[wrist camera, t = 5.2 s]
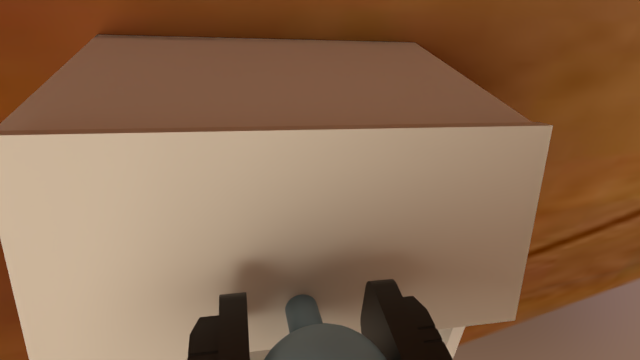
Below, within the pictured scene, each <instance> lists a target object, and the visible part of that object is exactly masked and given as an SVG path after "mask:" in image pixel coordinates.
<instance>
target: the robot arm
mask: <svg viewBox="0 0 640 360" xmlns="http://www.w3.org/2000/svg"><path fill="white" fill-rule="evenodd" d="M360 325H361V333H362V335H364V336H365V337H366V338H368V339H369V340H370V341H371V342H372V343H374V344H375V345H376V346H377V348H378V349H379V350H380V351H381V352H382V354H383V355H384V356H385V358H386V359H387V360H453V359H452V357H451V355H450V353H449V351H448V349H447V347H446V345H445V343H444V342H443V341H442V337H441V335H440V333H439V331H438V330H437V329H436V328H435V324H434V322H433V320H432V318H431V316H430V314H429V312H428V310H427V309H426V308H425V307H424V306H423V305H422V304H421V303H420V302H419V301H418V300H417V299H416V298H415V297H414V296H407V297H403V296H402V294H401V292H400V290H399V288H398V285H397V283H396V282H395V280H394V279H386V280H375V281H368V282H367V283H366V287H365V293H364V299H363V305H362V311H361V317H360ZM187 360H250V352H249V332H248V313H247V294H246V292H242V293H231V294H221V295H219V315H217V316H207V317H199V319H198V321H197V323H196V324H195V326H194V328H193V330H192V331H191V333H190V336H189V347H188V358H187Z"/></svg>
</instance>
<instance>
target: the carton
mask: <svg viewBox="0 0 640 360" xmlns="http://www.w3.org/2000/svg"><path fill="white" fill-rule="evenodd" d="M511 122H531V121H530V120H528V119H527V118H525V117H524V116H522V115H521V114H519V113H518V112H516V111H515V110H514V109H512V108H511V107H509V106H508V105H506V104H505V103H503V102H502V101H500V100H499V99H497V98H496V97H494V96H493V95H491V94H490V93H489V92H487V91H486V90H484V89H483V88H481V87H480V86H478V85H477V84H475V83H474V82H472V81H471V80H469V79H468V78H467V77H465V76H464V75H462V74H461V73H459V72H458V71H456V70H455V69H453V68H452V67H450V66H449V65H447V64H446V63H444V62H443V61H442V60H440V59H439V58H437V57H436V56H434V55H433V54H431V53H430V52H428V51H427V50H425V49H424V48H422V47H421V46H419V45H418V44H417V43H415V42H382V41H341V40H300V39H259V38H218V37H177V36H136V35H96V36H95V37H94V38H93V39H92V40H91V41H90V42H89V43H87V44H86V45H85V46H84V47H83V48H82V49H81V50H80V51H79V52H78V53H77V54H76V55H74V56H73V57H72V58H71V59H70V60H69V61H68V62H67V63H66V64H65V65H64V66H63V67H61V68H60V69H59V70H58V71H57V72H56V73H55V74H54V75H53V76H52V77H51V78H49V79H48V80H47V81H46V82H45V83H44V84H43V85H42V86H41V87H40V88H39V89H38V90H36V91H35V92H34V93H33V94H32V95H31V96H30V97H29V98H28V99H27V100H26V101H25V102H23V103H22V104H21V105H20V106H19V107H18V108H17V109H16V110H15V111H14V112H13V113H11V114H10V115H9V116H8V117H7V118H6V119H5V120H4V121H3V122H2V123H1V124H0V131H8V130H71V129H134V128H197V127H260V126H322V125H385V124H448V123H511ZM464 328H465V326H464V327H456V328H447V329H439V330H438V331H439V333H440V335H441V337H442V341H443V342H444V343H445V345H446V347H447V349H448V351H449V353H450V355H451V357H452V359H453V357H454V355H455V352H456V349H457V347H458V344H459V342H460V339H461V336H462V334H463V331H464ZM270 350H271V349H270ZM270 350H262V351H254V352H250V360H264V359H265V357H266V356H267V354H268V353H269V351H270ZM186 360H187V359H186Z"/></svg>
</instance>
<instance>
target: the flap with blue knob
mask: <svg viewBox="0 0 640 360" xmlns="http://www.w3.org/2000/svg"><path fill="white" fill-rule="evenodd" d="M552 128H553V125H549V124H545V123H541V122H511V123H448V124H385V125H322V126H260V127H197V128H134V129H71V130H8V131H0V239H1V243H2V247H3V251H4V256H5V260H6V264H7V268H8V272H9V277H10V281H11V285H12V289H13V294H14V298H15V302H16V306H17V310H18V315H19V319H20V323H21V327H22V331H23V336H24V340H25V344H26V348H27V352H28V357H29V360H186V359H187V358H188V347H189V336H190V333H191V331H192V330H193V328H194V326H195V324H196V323H197V321H198V319H199V317H207V316H217V315H219V295H221V294H231V293H242V292H246V294H247V313H248V332H249V352H254V351H262V350H270V349H271V350H270V351H269V353H268V354H267V356H266V357H265V359H264V360H387V359H386V358H385V356H384V355H383V354H382V352H381V351H380V350H379V349H378V348H377V346H376V345H375V344H374V343H372V342H371V341H370V340H369V339H368V338H366V337H365V336H364V335H362V333H361V325H360V317H361V311H362V305H363V299H364V293H365V287H366V283H367V282H368V281H375V280H386V279H394V280H395V282H396V283H397V285H398V288H399V290H400V292H401V294H402V296H403V297H407V296H414V297H415V298H416V299H417V300H418V301H419V302H420V303H421V304H422V305H423V306H424V307H425V308H426V309H427V310H428V312H429V314H430V316H431V318H432V320H433V322H434V324H435V328H436V329H437V330H439V329H447V328H456V327H464V326H472V325H481V324H489V323H498V322H506V321H515V317H516V312H517V307H518V302H519V297H520V292H521V287H522V282H523V276H524V271H525V266H526V261H527V256H528V251H529V246H530V241H531V235H532V230H533V225H534V220H535V215H536V210H537V205H538V200H539V194H540V189H541V184H542V179H543V174H544V169H545V164H546V159H547V153H548V148H549V143H550V138H551V133H552Z"/></svg>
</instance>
